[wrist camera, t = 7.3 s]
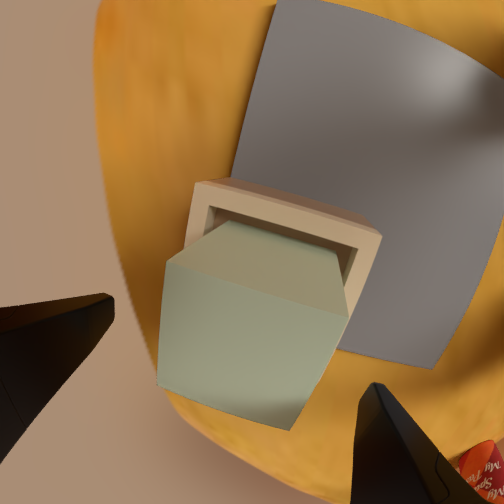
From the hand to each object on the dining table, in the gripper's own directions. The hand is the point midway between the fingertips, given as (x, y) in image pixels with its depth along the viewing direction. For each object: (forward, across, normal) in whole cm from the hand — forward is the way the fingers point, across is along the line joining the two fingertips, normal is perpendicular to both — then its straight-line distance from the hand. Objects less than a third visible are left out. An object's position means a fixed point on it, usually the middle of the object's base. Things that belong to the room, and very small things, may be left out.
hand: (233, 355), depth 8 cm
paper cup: (+11, -33, +18) cm, 39 cm away
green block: (+6, 0, 0) cm, 6 cm away
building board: (+10, -5, -6) cm, 13 cm away
